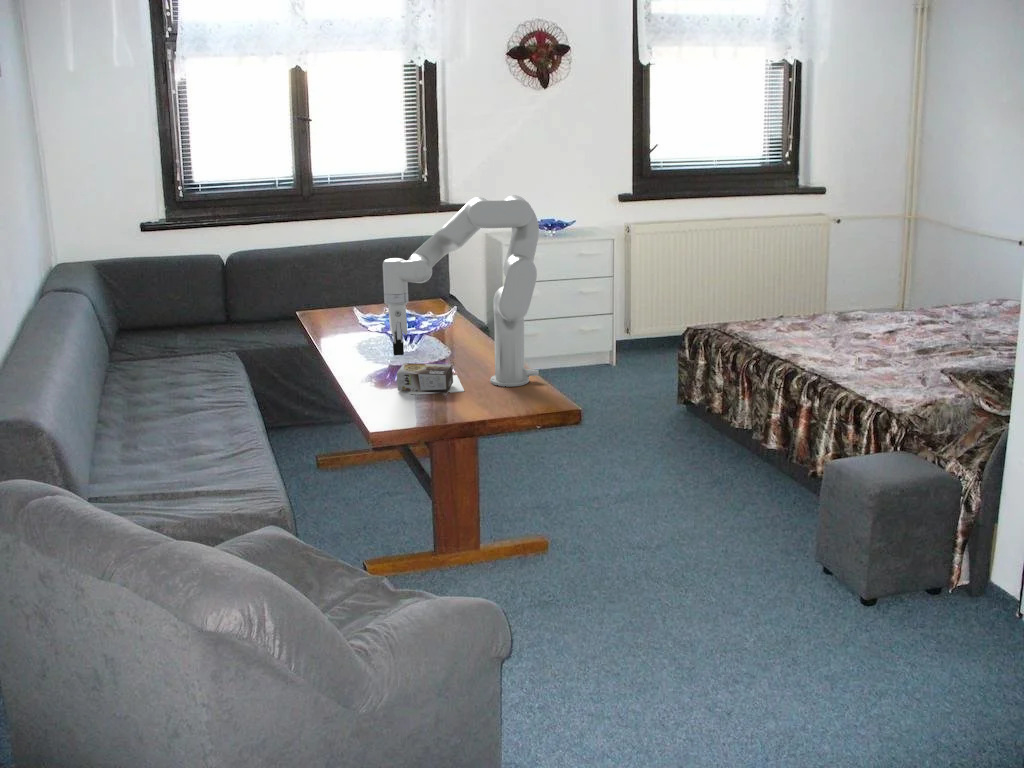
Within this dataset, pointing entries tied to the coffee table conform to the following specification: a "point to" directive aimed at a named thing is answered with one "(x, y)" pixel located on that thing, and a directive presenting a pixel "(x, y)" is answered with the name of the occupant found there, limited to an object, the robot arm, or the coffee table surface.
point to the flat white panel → (454, 387)
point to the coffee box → (425, 377)
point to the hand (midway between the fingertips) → (398, 354)
